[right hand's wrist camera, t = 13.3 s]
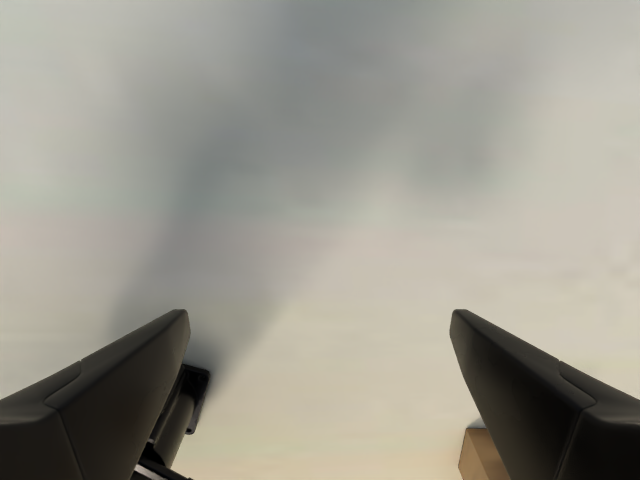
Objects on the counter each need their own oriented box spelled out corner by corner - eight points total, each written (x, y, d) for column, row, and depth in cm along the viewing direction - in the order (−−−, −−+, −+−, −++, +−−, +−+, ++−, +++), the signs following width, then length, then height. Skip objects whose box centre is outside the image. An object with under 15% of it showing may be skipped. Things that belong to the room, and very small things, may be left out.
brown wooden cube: (516, 427, 28) (553, 487, 24) (505, 467, 30) (538, 529, 26) (465, 428, 28) (493, 487, 24) (457, 467, 30) (481, 529, 26)
